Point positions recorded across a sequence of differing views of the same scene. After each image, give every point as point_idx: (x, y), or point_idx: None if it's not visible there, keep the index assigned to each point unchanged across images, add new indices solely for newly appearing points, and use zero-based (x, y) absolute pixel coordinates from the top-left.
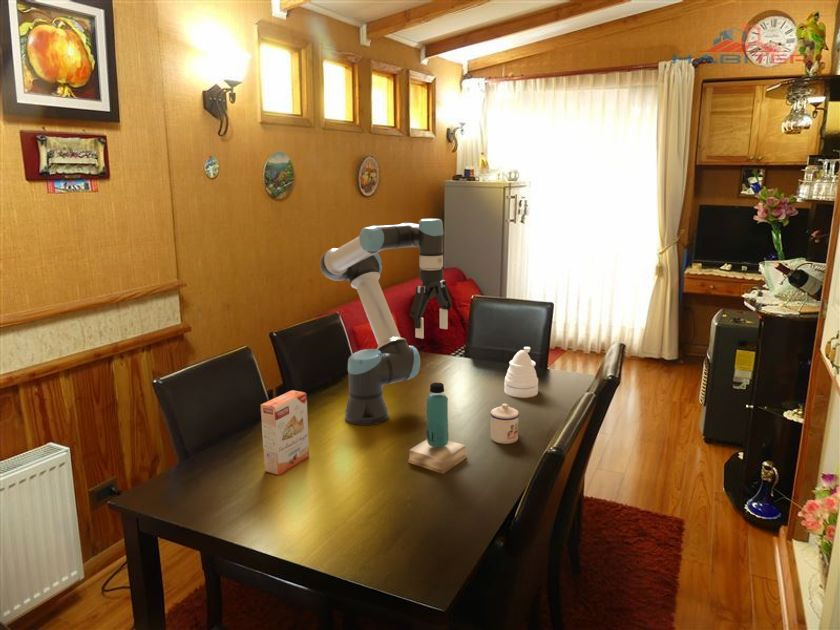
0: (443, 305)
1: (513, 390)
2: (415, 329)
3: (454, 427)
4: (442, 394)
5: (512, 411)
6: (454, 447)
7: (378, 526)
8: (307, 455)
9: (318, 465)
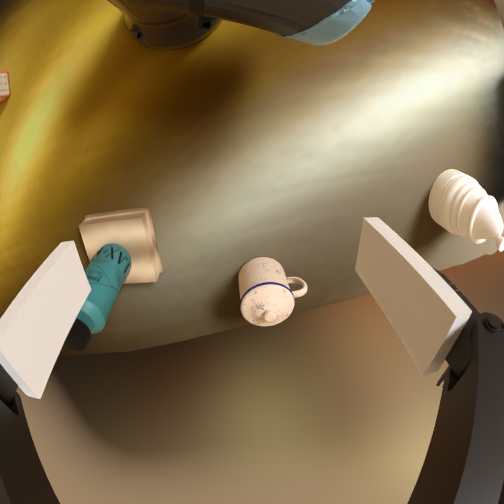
0: (451, 396)
1: (436, 200)
2: (35, 273)
3: (248, 183)
4: (91, 327)
5: (269, 322)
6: (138, 273)
7: (10, 285)
8: (5, 97)
9: (5, 129)
